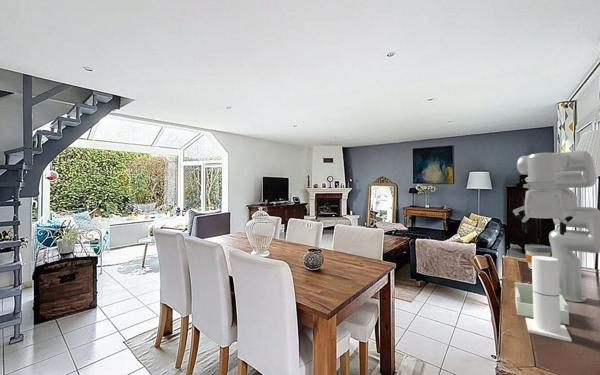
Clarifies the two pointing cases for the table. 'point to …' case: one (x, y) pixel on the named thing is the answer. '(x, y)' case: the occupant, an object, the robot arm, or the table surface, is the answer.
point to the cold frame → (526, 302)
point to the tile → (558, 335)
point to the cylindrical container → (546, 293)
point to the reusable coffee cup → (536, 252)
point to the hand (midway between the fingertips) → (543, 233)
